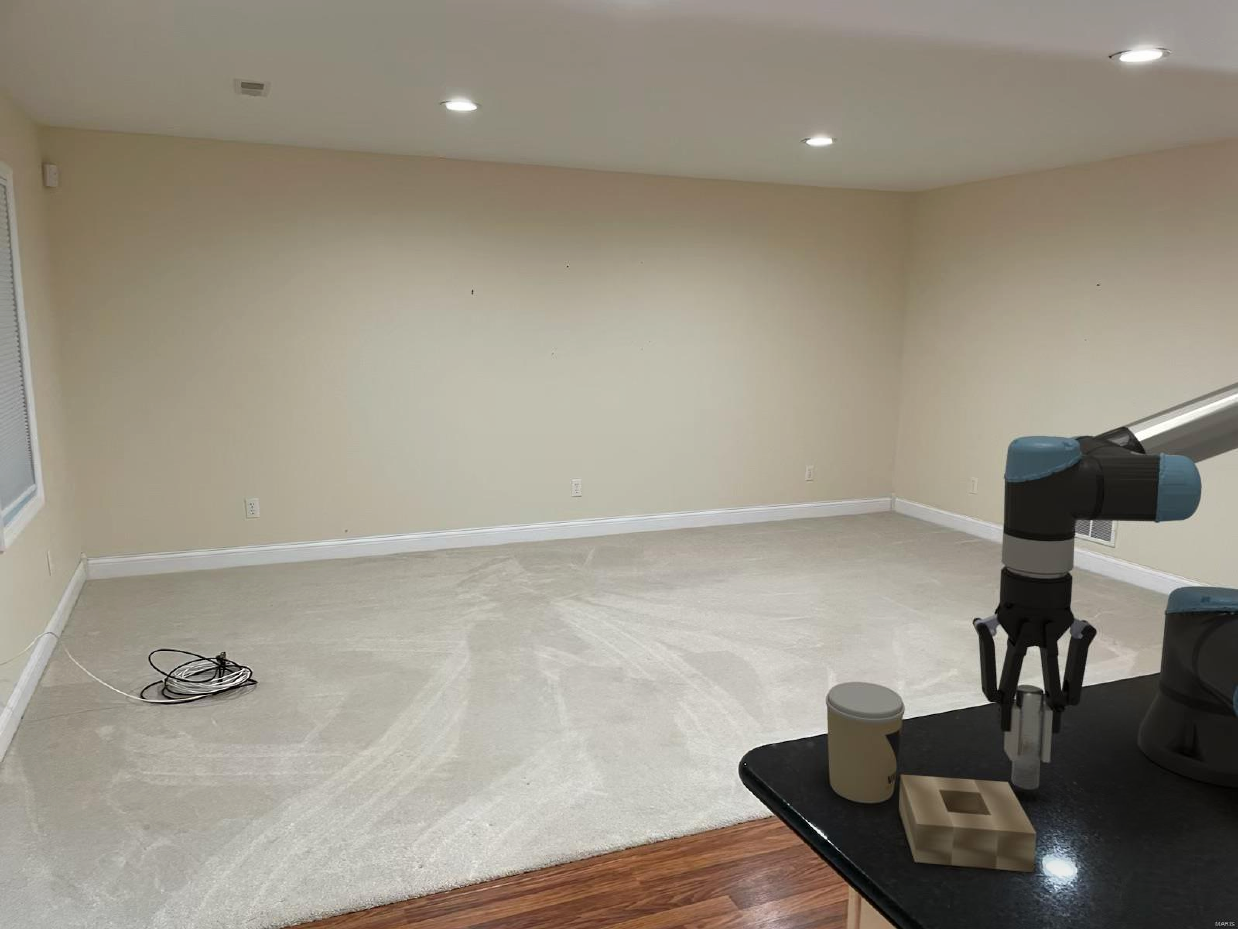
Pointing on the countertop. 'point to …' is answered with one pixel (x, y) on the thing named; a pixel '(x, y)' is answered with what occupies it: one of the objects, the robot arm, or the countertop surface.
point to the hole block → (966, 823)
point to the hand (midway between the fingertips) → (1026, 755)
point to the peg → (1028, 737)
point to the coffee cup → (863, 740)
